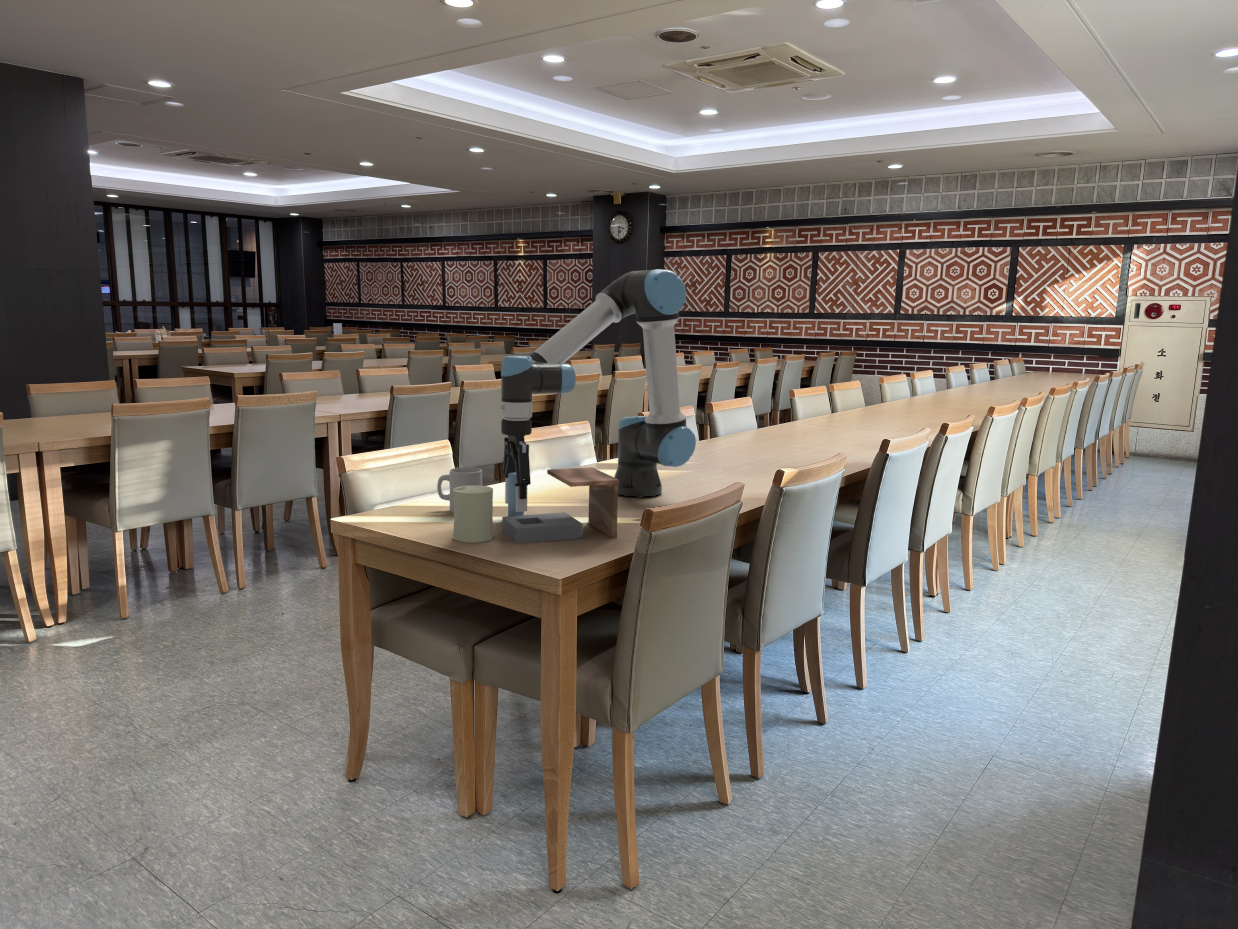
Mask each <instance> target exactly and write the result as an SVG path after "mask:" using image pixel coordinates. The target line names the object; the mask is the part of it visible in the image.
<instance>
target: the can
mask: <svg viewBox="0 0 1238 929" xmlns="http://www.w3.org/2000/svg"><path fill="white" fill-rule="evenodd" d="M453 494H454V513H453V537H452V539H454V541H457V542H459V543H468V544H471V543H472V544H473V543H475V544H478V543H484V542H489V541H491V540H493V539H494V531H493V530H494V528H493V527H494V526H493V525H494V524H493V523H494V522H493V519H494V518H493V515H494V514H493V512H494V510H493V506H494V505H493V504H494V499H493V498H494V497H493V496H494V488H493V487H491V486H488V485H482V486H480V485H468V486H460V487H456V488H454V489H453Z"/></svg>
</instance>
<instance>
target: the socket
mask: <svg viewBox="0 0 1238 929" xmlns="http://www.w3.org/2000/svg"><path fill="white" fill-rule="evenodd" d="M501 519H502V523H501V526H502V527H501V529H502V532H503V533H504V534H505V535H506V536H508V538H510V540H512V541H513V542H514V543H515V544H525V543H526V544H527V543H537V542H538V543H539V542H550V541H563V540H572V539H583V523H582V522H581V521H579V520H578V519H576V518H575V517H573V516H572V515H570V514H569V513H567V512H565V511H564V512H552V513H551V512H550V513H535V514H534V513H533V514H524V515H519V516H508V515H506V516H502V518H501Z"/></svg>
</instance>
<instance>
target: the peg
mask: <svg viewBox="0 0 1238 929" xmlns="http://www.w3.org/2000/svg"><path fill="white" fill-rule="evenodd" d="M523 480H524V479H523ZM516 483H517V477H516V473H509V474H508V504H507V516H519V515H525V511H524V512H516V486H515V484H516Z"/></svg>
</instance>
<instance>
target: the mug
mask: <svg viewBox="0 0 1238 929" xmlns="http://www.w3.org/2000/svg"><path fill="white" fill-rule="evenodd" d="M444 481H447V482H449V493H448V494H447V493H446V494H445V493H444V492H443V490H442V484H443V482H444ZM436 485H437V487H436V489H437V495H438V496H439V498H440V499H441V500H444V501H448V502H449V511H450V513H452V514H454V494H453V489H454V488H456V487H460V486H468V485H480V486H483V470H482V469H481V468H479V467H471V466H469V467H468V466H465V467H464V466H463V467H462V466H461V467H454V468H451V469H450V470H449V473H447V474H442V475H441V476H440V477H438V480H437V484H436Z"/></svg>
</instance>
